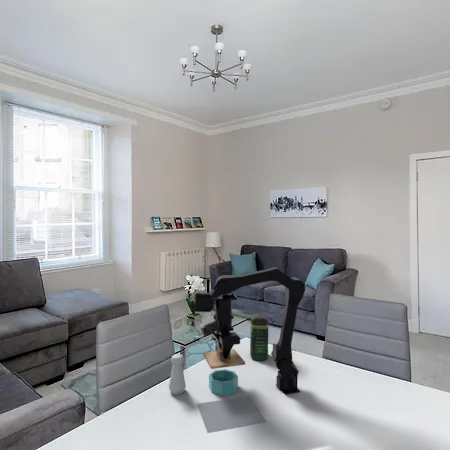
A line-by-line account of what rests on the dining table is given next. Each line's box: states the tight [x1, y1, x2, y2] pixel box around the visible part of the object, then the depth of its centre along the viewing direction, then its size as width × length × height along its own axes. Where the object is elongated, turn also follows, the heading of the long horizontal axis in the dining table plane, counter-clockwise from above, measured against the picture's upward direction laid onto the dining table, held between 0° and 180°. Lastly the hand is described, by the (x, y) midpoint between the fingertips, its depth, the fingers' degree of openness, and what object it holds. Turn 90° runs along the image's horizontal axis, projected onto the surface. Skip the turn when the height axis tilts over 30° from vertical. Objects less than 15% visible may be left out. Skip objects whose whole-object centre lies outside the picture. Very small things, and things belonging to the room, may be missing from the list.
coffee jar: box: [249, 312, 269, 361], centre depth 144 cm, size 10×8×19 cm
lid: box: [202, 346, 246, 370], centre depth 115 cm, size 12×12×4 cm
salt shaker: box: [168, 353, 187, 396], centre depth 113 cm, size 6×6×13 cm
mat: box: [196, 395, 268, 434], centre depth 101 cm, size 18×15×1 cm
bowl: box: [208, 368, 239, 397], centre depth 116 cm, size 10×10×5 cm
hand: (223, 356), depth 115 cm, fingers closed on lid, 4 cm apart
